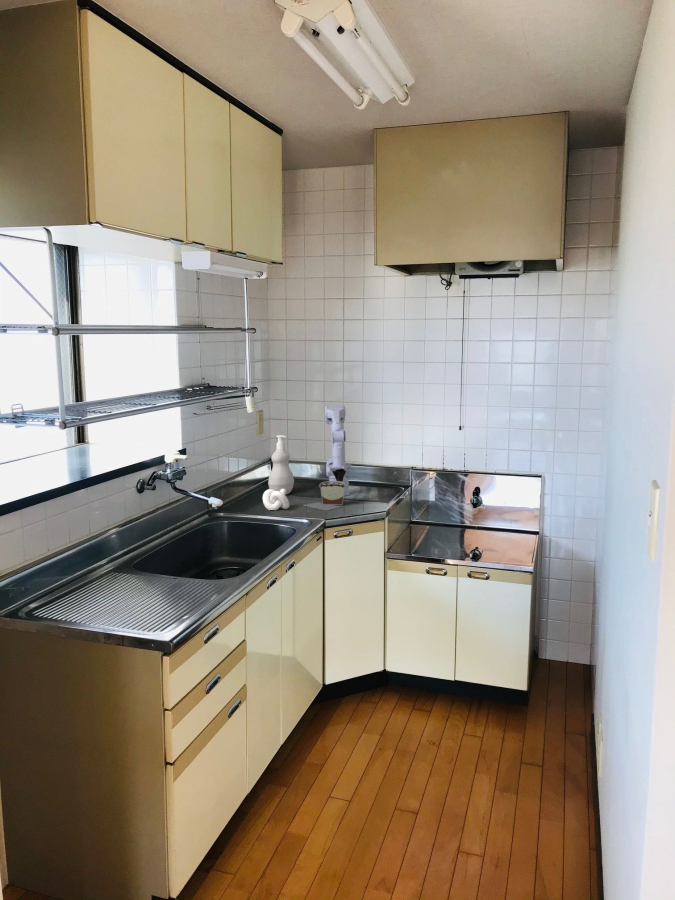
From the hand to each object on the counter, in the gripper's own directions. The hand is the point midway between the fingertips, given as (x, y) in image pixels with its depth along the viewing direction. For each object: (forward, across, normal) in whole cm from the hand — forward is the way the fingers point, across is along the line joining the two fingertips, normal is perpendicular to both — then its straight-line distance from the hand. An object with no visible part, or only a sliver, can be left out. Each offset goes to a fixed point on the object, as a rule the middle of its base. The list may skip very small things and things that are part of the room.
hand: (339, 485), depth 332 cm
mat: (+8, -11, 0) cm, 14 cm away
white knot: (+8, -27, +13) cm, 31 cm away
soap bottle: (+8, -2, +38) cm, 39 cm away
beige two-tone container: (+8, -4, +1) cm, 9 cm away
